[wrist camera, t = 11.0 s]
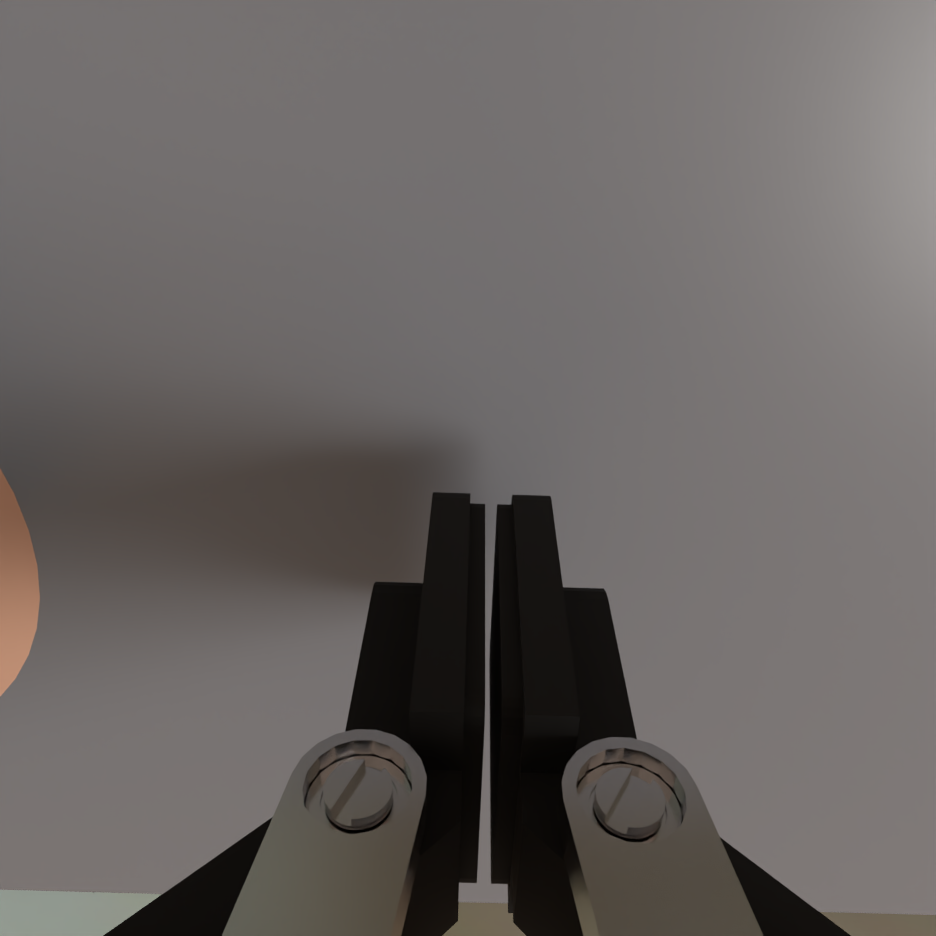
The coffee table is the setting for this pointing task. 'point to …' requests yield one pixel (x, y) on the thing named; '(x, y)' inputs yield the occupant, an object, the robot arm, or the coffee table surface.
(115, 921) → the coffee table surface
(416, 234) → the mat
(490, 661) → the robot arm
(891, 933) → the coffee table surface
